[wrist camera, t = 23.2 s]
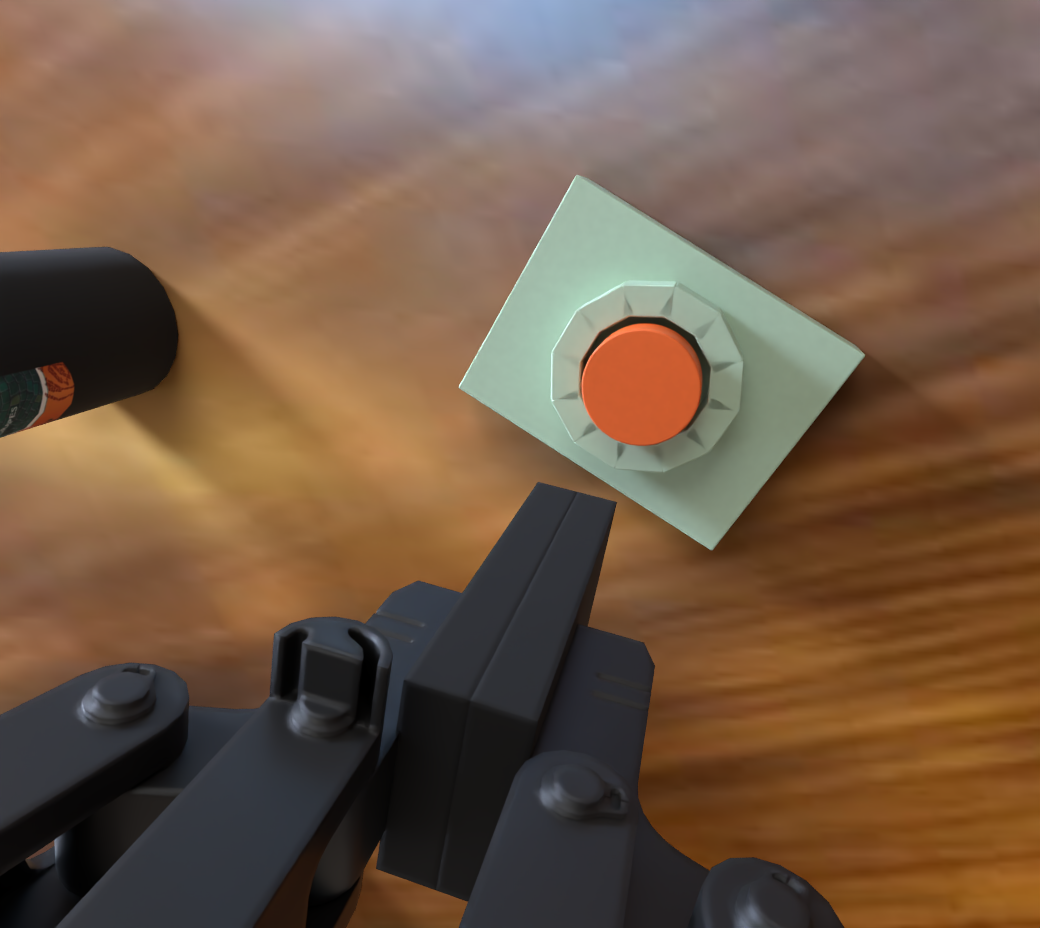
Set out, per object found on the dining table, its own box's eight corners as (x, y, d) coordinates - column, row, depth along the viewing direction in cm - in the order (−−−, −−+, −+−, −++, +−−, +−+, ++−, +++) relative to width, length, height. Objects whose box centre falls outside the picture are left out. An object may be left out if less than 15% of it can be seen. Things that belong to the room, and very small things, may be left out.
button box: (856, 345, 31) (875, 363, 27) (712, 531, 35) (711, 569, 31) (585, 176, 32) (567, 172, 28) (472, 377, 35) (443, 396, 32)
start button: (725, 362, 29) (726, 371, 27) (660, 454, 31) (657, 468, 29) (627, 300, 29) (622, 305, 28) (568, 395, 31) (559, 405, 29)
